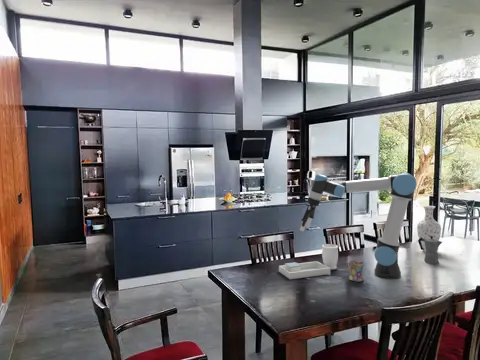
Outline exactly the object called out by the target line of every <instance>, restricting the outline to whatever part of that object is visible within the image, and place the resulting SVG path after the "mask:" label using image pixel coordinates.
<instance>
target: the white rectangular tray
mask: <svg viewBox="0 0 480 360" xmlns="http://www.w3.org/2000/svg"><path fill="white" fill-rule="evenodd" d="M297 263H298V262H297ZM298 264H299V265H301V267H300V271H298V272H289V271H288V270H286V269H285V264H283V265H278V272H279V273H280V274H281V275H283V276H284V277H286V278H287V279H288V280H296V279H302V278H310V277H317V276H318V277H319V276H323V275H324V276H325V275H328V276H331V269H330V268H329V267H327V266H326V265H324V263H321V262H319V261H308V262H301V263H298Z"/></svg>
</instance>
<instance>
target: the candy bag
mask: <svg viewBox="0 0 480 360" xmlns="http://www.w3.org/2000/svg"><path fill="white" fill-rule="evenodd" d="M364 266H365V262H364V261H361V260H356V259H355V260H348V262H347V263H346V267H347V270H348V271H349V272H350V274H349V276H348V279H349V280H350V281H352V282H363V281H364V280H365V279H364V276H363V270H364Z"/></svg>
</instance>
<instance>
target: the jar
mask: <svg viewBox="0 0 480 360" xmlns="http://www.w3.org/2000/svg"><path fill="white" fill-rule="evenodd" d="M321 247H322V250H321V251H322V252H321V257H322V262H323V263H322V264H324V265H326V266H327V267H329V268H330V271H332V270H336V269H337V264H338V260H339V250H338V248H339V246H338V245H337V244H333V243H325V244H322V245H321Z"/></svg>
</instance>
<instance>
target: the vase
mask: <svg viewBox="0 0 480 360" xmlns="http://www.w3.org/2000/svg"><path fill="white" fill-rule="evenodd" d="M422 208H424V211H425V212H424V218H423V219H422V220H421V221H419V222H418V223H417V226H416V230H417V237H418V240H419V239H420V238H424V239H431V237H430V236H433V239H436V240H439V241H440V239H441V233H442V232H441V231H442V228H441V224H440V222H438V221H436V219H434V210H435V208H436V206H434V205H422ZM421 245H422V248H423V249H424V250H421V251H422V252H424V253H426V247H425V241H421Z"/></svg>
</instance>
